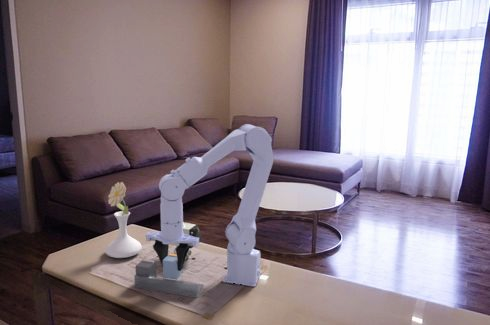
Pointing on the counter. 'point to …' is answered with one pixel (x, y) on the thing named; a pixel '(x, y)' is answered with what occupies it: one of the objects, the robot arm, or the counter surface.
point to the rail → (162, 281)
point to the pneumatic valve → (192, 231)
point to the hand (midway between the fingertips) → (172, 268)
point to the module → (171, 267)
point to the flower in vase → (121, 227)
